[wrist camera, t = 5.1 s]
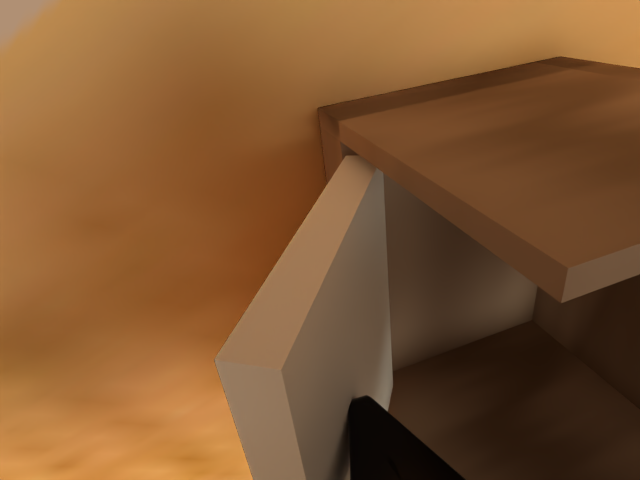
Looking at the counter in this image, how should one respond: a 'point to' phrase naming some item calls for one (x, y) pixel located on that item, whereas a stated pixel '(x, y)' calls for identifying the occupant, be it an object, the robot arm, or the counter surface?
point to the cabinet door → (315, 336)
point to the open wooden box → (511, 264)
